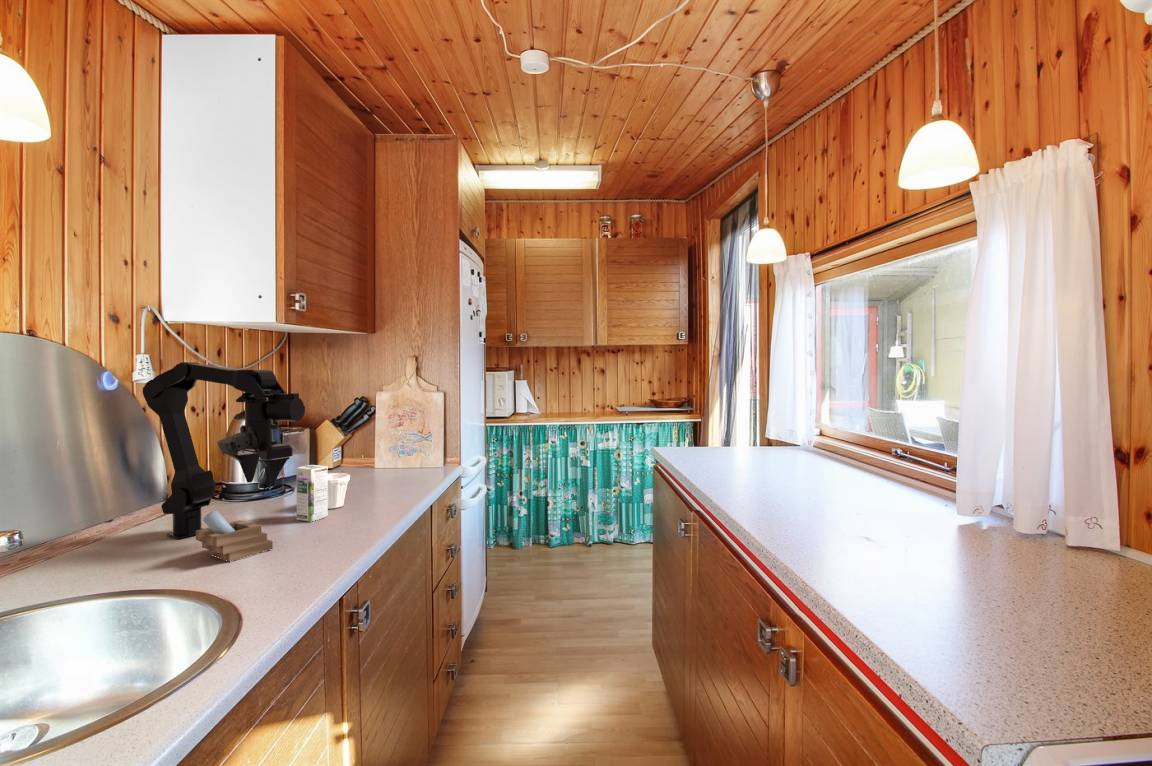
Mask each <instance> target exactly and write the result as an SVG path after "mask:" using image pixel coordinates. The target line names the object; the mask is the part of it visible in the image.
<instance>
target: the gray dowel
mask: <svg viewBox="0 0 1152 766" xmlns="http://www.w3.org/2000/svg"><path fill="white" fill-rule="evenodd" d="M202 520H203V522H204V524H205V525H206V526H207V527H208V528H210V529H211V530H212V531H213V532H215V533H218V534H225V533H229V532H233V531H235V530H234V529H233V528H232V527H231V526H230V524H229V523H230V522H229V521H227V520H226V519H225V518H224V517H223V515H222V514H221V513H220V512H219V511H218V510H213V511H210V512H209V513H207V514H206V515H205V516H204V517H203V519H202Z"/></svg>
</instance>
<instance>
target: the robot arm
mask: <svg viewBox="0 0 1152 766" xmlns="http://www.w3.org/2000/svg"><path fill="white" fill-rule="evenodd" d="M276 377H277V376H276V375H275V373H274V371H272V370H270V369H235V368H234V369H233V368H228V367H222V366H216V365H210V364H202V363H199V362H197V361H181V362H179V363H177V364H175V365H174V366H173V367H172V368H171V369H168V370H166V371H164V372H161V373H159V374H158V375H157V376H155V377H154V378H152V379H150V380H148V381H147V382H146V383H145V384H144V386H143V387H142V395H143V397H144V399H145V402H146V404H147V407H149V408H150V410H152V412H154V413H155V414H156V415H157V416H158V417H159V420H160V424H161V427H162V430H163V434H164V438H165V440H166V441H165V442H166V444H167V449H168V451H169V456H170V458H171V462H172V466H173V469H174V475H173V477H172V480H171V483H170V489H171V491H170V492H171V495H169V497H168V498H167V499H166V500H165V501H164V502H163V503H162V504H161V506H160V507H161V510H162V512H163V514H165V515H172V531H169V532H167V533H166V536H168V537H171V538H174V539H177V540H181V539H185V538H189V537H193V536H196V531H197V530H201V529H204V528H203V527H202V524H203V523H202V508H203V507H207V506H210V504H211V499H212V498H213V496H214V494H215V493H216V487H215V486H217V483H216V482H215V480H214V479H215V478H214V475H213V473H214V472H213V471H212V470H211V469H209V470H205V469H203V467H201V466H200V463H199V460H198V455H197V453H196V450H195V445H194V442H193V438H192V434H191V432H190V428H189V425H188V422H187V417H186V414H185V409H186V407H187V405H188V401H189V396H188V392H189V391H191V390H192V389H194V387H195V386H196V383H197V381H203V382H210V383H217V384H222V385H228V386H230V387H232V388H233V389H235V390H237V391H240V392H242V394H241V395H240V396H239V397H237V398H236V399H235V401H236V403H244V424H242V425H241V426H240V427H239V432H237V433H235V434H231V435H229V436H227V437H224V438H223V439H220V440H218V441H217V442H216V443H217V446H218V448H219V450H220V452H221V455H223V456H224V455H227V456H229V457H231V458H233V459H234V460H236V461H238V463H239V465H240V467H241V469H242V473H243V475H244V478H245V481H246V482H247V483H252V482H253V481H254V477H255V474H256V470H257V468H258V464H259V463H260V464H262V465H263V466H264V471H265V472H264V473H265V478H266V479H265V480H266V483H267V484H266V485H267V487H268V488H269V487H274V485H275V483H276V481H277V479H278V478H279V476H280V474H281V471H282V469H283V468H284V466H285V464H286V463H287V461H289V460H290V457H293V456H294V454H293V453H294V448H293V447H292V446H291V445H289V444H284V443H278V442H277V441H278V440H274V439H273V438H274V435H273V434H274V433H273V429H274V430H275V429H277V424H276V423H275V424H274V423H273V421H275V422H299V421H301V420H302V419H303V418H304V415H305V412H306V405H304V404H305V403H304V401H303V399H302V398H301V397H300V393H299V392H292V393H289V392H288V393H287V392H286V391H285V389H284V388H283V386H281V384H280V383H279V381H278V380H277V378H276Z"/></svg>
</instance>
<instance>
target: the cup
mask: <svg viewBox="0 0 1152 766" xmlns="http://www.w3.org/2000/svg"><path fill="white" fill-rule="evenodd" d="M350 479H351V475H350V474H349V473H342V472H335V473H333V472H332V473H328V509H331V510H336V508H337V509H340V508H339V507H341V508H343V507H344V503H345V498H346V492H347V488H348V483H349V482H350Z"/></svg>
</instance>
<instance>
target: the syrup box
mask: <svg viewBox="0 0 1152 766" xmlns="http://www.w3.org/2000/svg"><path fill="white" fill-rule="evenodd" d="M328 467H329V466H328V465H318V464H317V465H316V464H307V465H303V466H299V467H298V466H297V467H296V521H304V522H309V523H312V521H313V522H316V521H318V520H321V519H325V518H328V516H329V515H328V514H329V513H328V511H329V510H328V474H329V473H328V469H329V468H328ZM315 520H316V521H315Z"/></svg>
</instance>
